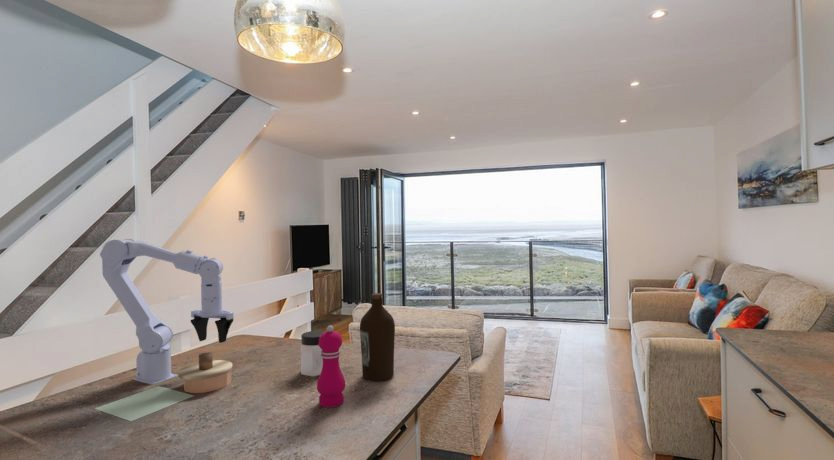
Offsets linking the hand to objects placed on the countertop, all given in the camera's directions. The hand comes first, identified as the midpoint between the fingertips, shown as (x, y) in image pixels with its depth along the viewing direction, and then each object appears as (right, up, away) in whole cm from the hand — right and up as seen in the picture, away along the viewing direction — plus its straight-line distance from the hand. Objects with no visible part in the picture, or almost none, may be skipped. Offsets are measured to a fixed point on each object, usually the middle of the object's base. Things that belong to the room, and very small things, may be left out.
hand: (212, 341), depth 128 cm
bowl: (+3, -10, -9) cm, 14 cm away
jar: (+32, -10, +1) cm, 33 cm away
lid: (+3, -6, -10) cm, 12 cm away
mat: (-7, -11, -21) cm, 25 cm away
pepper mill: (+42, -10, -22) cm, 48 cm away
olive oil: (+52, -10, -4) cm, 53 cm away
